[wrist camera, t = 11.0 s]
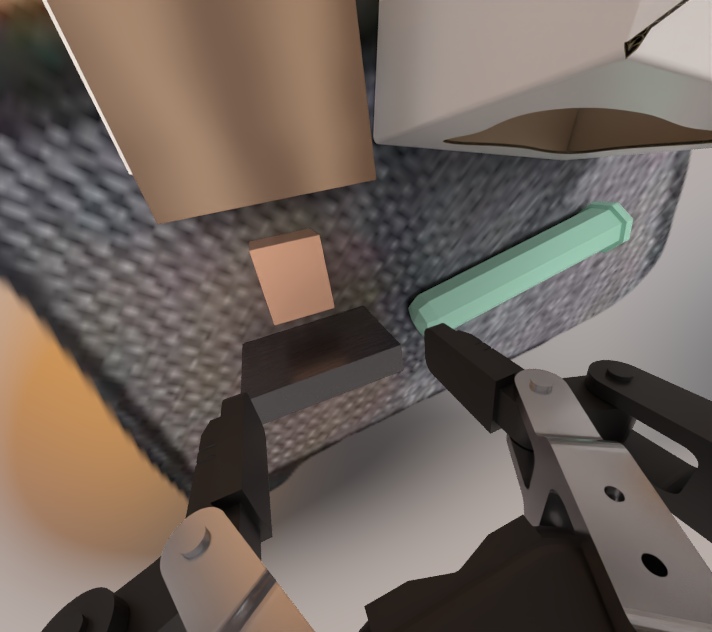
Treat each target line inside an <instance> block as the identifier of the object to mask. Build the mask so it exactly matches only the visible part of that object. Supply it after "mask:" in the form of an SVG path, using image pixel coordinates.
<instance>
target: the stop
mask: <svg viewBox="0 0 712 632" xmlns="http://www.w3.org/2000/svg"><path fill="white" fill-rule="evenodd" d="M403 370H404V369H403V360H402V350H401V344H400V343H399V342H398V341H397V340H396V339H395V338H394V337H393V336H392V335H391V334H390V333H389V332H388V331H387V330H386V329H385V328H384V327H383V326H382V325H381V324H380V323H379V322H378V321H377V320H376V318H375V317H374V316H373V315H372V314H371V313H370V312H369V311H368V310H367V309H366V308H365V307H364V306H362V307H359V308H356V309H352V310H349V311H346V312H343V313H340V314H336V315H333V316H330V317H327V318H324V319H321V320H317V321H314V322H311V323H308V324H305V325H302V326H298V327H295V328H292V329H289V330H286V331H282V332H279V333H276V334H273V335H270V336H267V337H263V338H260V339H257V340H254V341H251V342H247V343H244V344H243V348H242V376H241V393H244V392H246V393H247V394H248V395H249V397H250V399H251V401H252V403H253V405H254V408H255V410H256V412H257V414H258V416H259V418H260V420H261V422H262V424H265V423H267V422H270V421H273V420H275V419H278V418H280V417H283V416H286V415H288V414H291V413H293V412H296V411H299V410H301V409H304V408H306V407H309V406H312V405H314V404H317V403H319V402H322V401H325V400H327V399H330V398H332V397H335V396H338V395H340V394H343V393H345V392H348V391H351V390H353V389H356V388H358V387H361V386H364V385H366V384H369V383H371V382H374V381H377V380H379V379H382V378H384V377H387V376H390V375H392V374H395V373H397V372H400V371H403Z"/></svg>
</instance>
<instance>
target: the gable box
mask: <svg viewBox="0 0 712 632" xmlns="http://www.w3.org/2000/svg"><path fill="white" fill-rule="evenodd" d="M373 139H374V141H375V143H376V144H383V145H395V146H406V147H418V148H429V149H440V150H452V151H463V152H475V153H486V154H498V155H509V156H521V157H532V158H543V159H555V160H572V159H584V158H596V157H608V156H620V155H631V154H643V153H655V152H667V151H679V150H691V149H703V148H712V0H379V18H378V40H377V63H376V85H375V107H374V130H373Z"/></svg>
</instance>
